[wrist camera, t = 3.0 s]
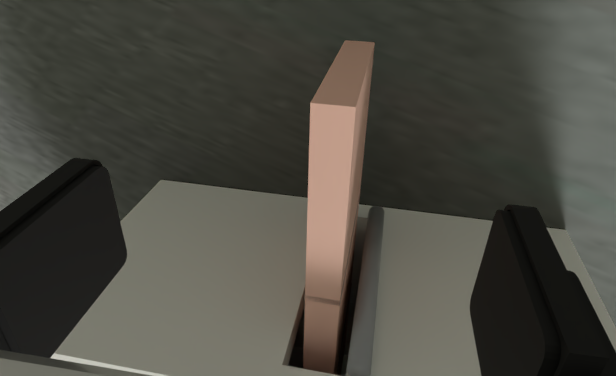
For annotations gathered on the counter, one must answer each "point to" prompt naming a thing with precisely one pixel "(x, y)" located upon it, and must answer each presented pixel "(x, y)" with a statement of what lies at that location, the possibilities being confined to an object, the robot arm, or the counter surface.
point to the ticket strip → (334, 202)
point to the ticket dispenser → (287, 289)
